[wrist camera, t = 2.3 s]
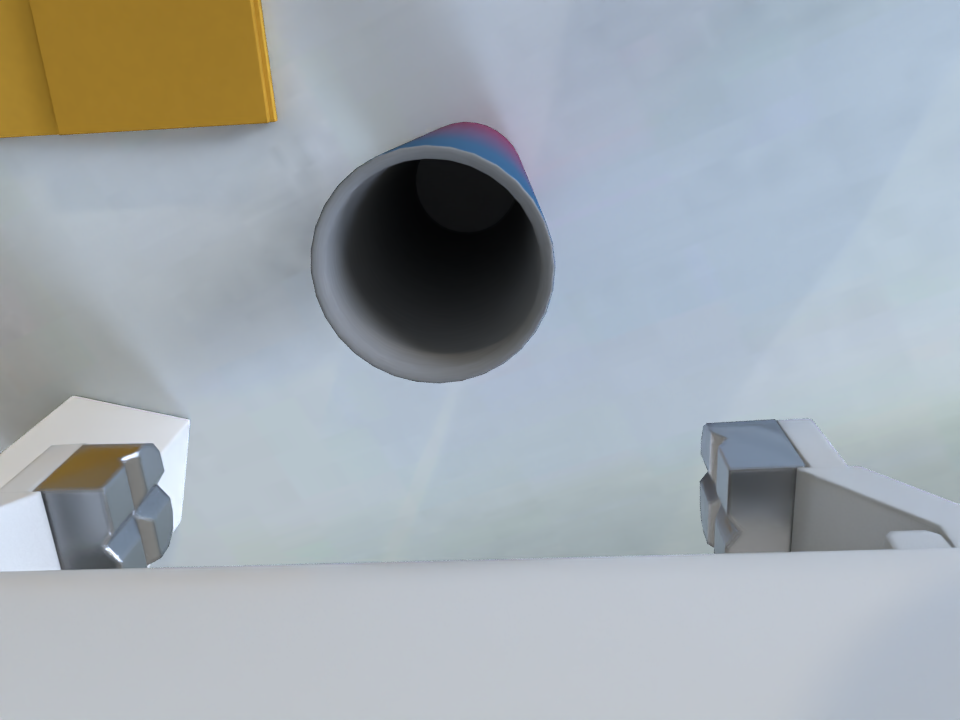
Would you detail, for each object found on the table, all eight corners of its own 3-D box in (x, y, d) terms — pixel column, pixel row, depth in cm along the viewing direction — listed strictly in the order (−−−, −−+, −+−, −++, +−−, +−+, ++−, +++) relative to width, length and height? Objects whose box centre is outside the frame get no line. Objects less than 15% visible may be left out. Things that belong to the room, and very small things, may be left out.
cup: (412, 271, 40) (349, 404, 26) (371, 121, 37) (277, 177, 23) (558, 238, 39) (577, 357, 25) (526, 82, 36) (525, 117, 23)
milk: (192, 417, 43) (-109, 776, 22) (182, 521, 45) (-101, 935, 25) (69, 393, 43) (-348, 732, 22) (65, 498, 45) (-318, 896, 24)
